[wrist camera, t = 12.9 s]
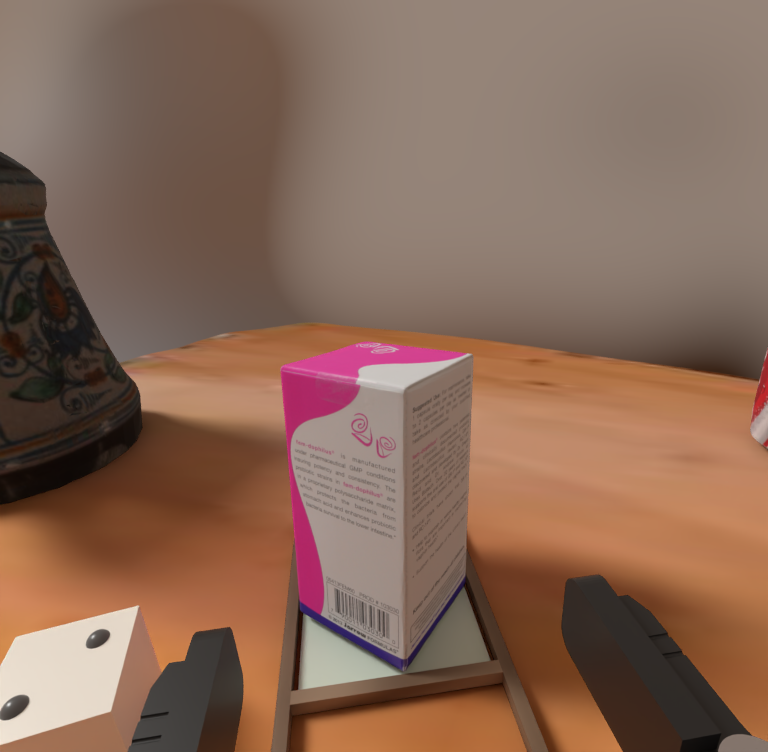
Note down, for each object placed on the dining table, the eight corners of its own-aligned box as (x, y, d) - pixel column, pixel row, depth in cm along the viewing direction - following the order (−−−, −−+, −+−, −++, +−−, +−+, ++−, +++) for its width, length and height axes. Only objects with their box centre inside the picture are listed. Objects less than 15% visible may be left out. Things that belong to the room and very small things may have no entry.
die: (2, 842, 14) (-54, 754, 12) (52, 712, 17) (13, 632, 16) (144, 793, 15) (108, 705, 13) (163, 679, 18) (137, 600, 17)
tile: (298, 695, 17) (298, 692, 17) (307, 554, 24) (307, 551, 24) (491, 666, 18) (491, 662, 18) (445, 536, 25) (445, 533, 25)
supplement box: (469, 581, 22) (479, 350, 18) (405, 677, 17) (403, 392, 14) (371, 539, 25) (364, 336, 21) (294, 611, 20) (270, 365, 17)
